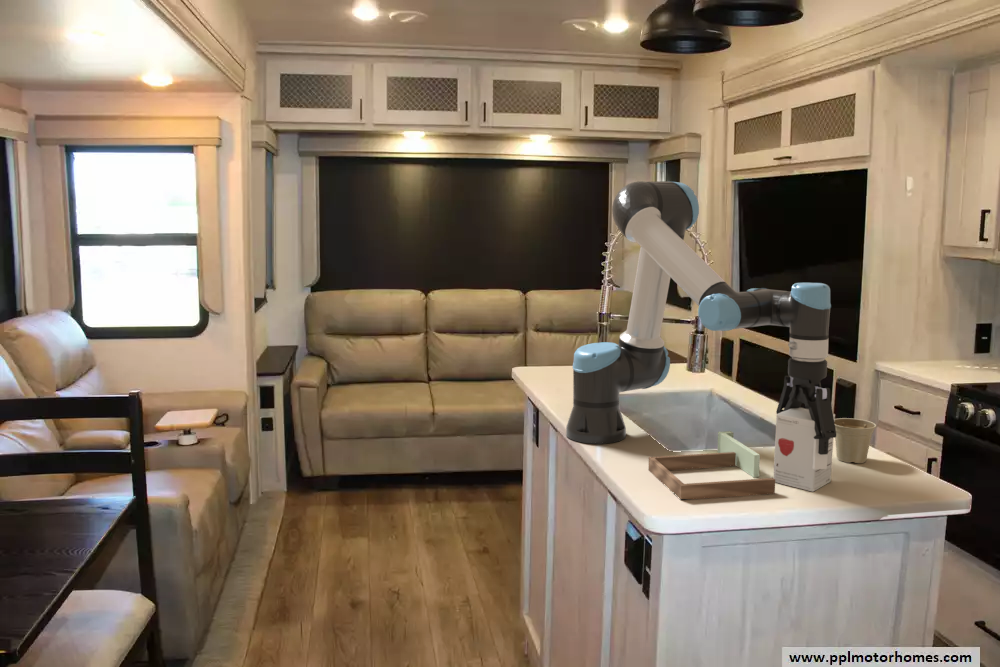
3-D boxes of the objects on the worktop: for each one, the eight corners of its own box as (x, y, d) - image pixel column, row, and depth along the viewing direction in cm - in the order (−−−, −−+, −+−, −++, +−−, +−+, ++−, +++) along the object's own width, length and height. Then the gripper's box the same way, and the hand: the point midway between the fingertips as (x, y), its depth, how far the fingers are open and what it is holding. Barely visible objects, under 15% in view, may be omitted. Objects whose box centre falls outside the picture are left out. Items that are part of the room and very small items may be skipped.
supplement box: (771, 482, 170) (774, 413, 167) (791, 472, 176) (794, 405, 174) (813, 492, 163) (817, 421, 161) (832, 482, 169) (836, 412, 167)
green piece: (717, 452, 191) (718, 431, 190) (730, 451, 191) (730, 431, 190) (753, 477, 173) (754, 455, 172) (767, 476, 173) (768, 454, 172)
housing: (648, 470, 178) (648, 457, 178) (733, 464, 181) (733, 451, 181) (680, 500, 160) (681, 485, 159) (774, 493, 163) (775, 479, 162)
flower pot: (836, 451, 191) (838, 415, 189) (878, 458, 185) (881, 422, 183) (823, 460, 184) (825, 424, 182) (867, 468, 178) (869, 431, 176)
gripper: (762, 349, 177) (759, 443, 180) (823, 370, 153) (817, 479, 156) (794, 347, 178) (790, 441, 181) (859, 368, 154) (853, 476, 157)
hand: (803, 459), depth 169 cm, fingers closed on supplement box, 12 cm apart
